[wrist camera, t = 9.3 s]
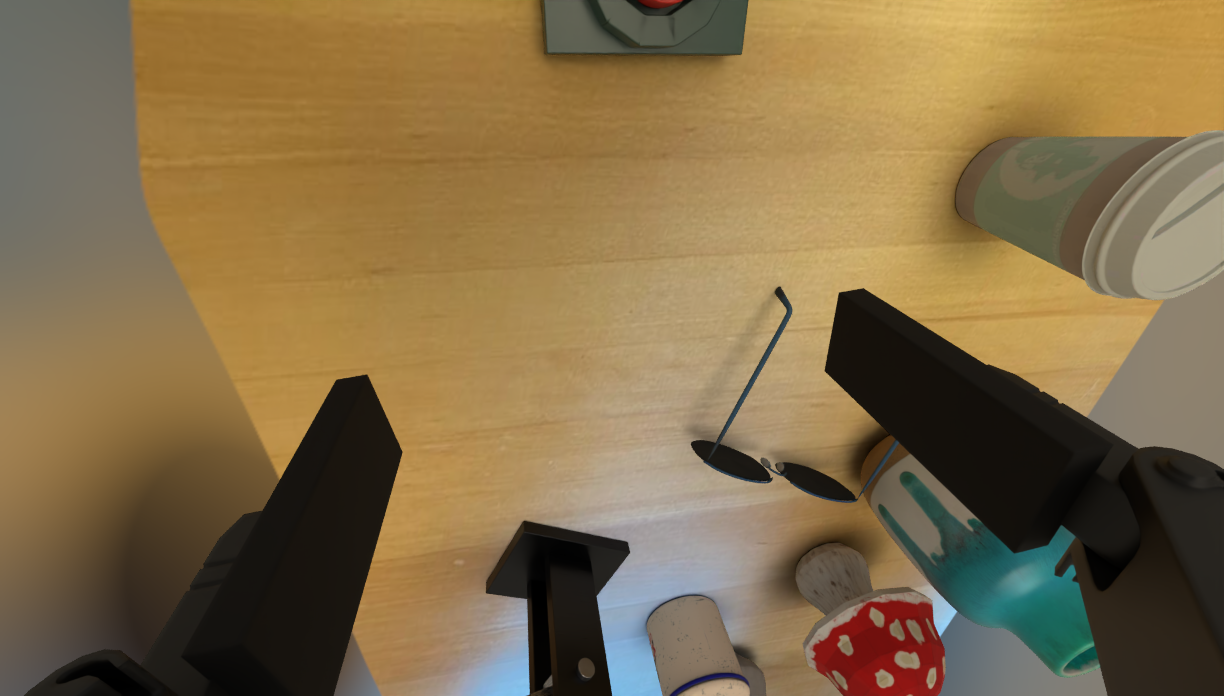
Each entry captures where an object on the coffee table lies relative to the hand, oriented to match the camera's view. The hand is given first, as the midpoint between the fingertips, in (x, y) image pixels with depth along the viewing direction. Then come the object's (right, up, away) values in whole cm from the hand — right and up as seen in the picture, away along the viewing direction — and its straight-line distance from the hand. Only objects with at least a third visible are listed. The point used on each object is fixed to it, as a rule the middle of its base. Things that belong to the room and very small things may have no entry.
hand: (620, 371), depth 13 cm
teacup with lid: (+9, -32, +42) cm, 53 cm away
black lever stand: (-5, -20, +32) cm, 38 cm away
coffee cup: (+27, +13, +20) cm, 35 cm away
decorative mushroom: (+24, -24, +41) cm, 53 cm away
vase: (+27, -9, +33) cm, 44 cm away
